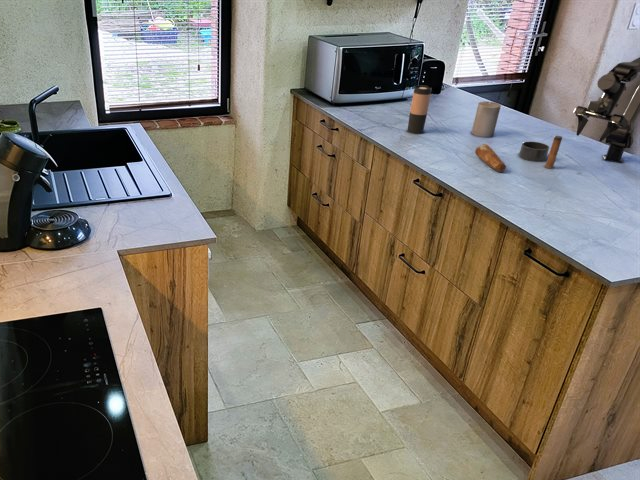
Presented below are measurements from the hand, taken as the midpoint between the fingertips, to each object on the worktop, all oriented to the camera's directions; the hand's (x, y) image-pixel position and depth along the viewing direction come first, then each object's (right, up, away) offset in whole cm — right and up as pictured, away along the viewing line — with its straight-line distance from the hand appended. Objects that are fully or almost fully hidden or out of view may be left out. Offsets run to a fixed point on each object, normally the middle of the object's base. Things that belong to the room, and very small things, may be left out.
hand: (588, 138), depth 226 cm
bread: (-32, -7, +13) cm, 35 cm away
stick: (-9, -8, +12) cm, 17 cm away
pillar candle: (-21, +15, +47) cm, 54 cm away
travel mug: (-52, +16, +49) cm, 73 cm away
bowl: (-11, -2, +22) cm, 24 cm away
